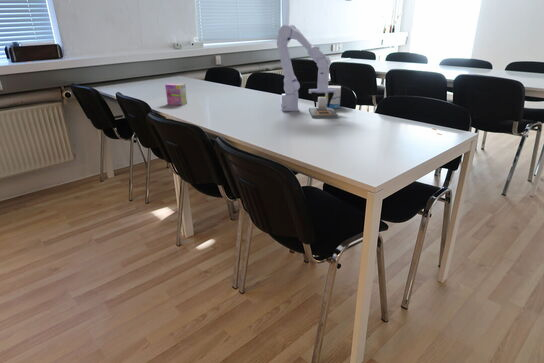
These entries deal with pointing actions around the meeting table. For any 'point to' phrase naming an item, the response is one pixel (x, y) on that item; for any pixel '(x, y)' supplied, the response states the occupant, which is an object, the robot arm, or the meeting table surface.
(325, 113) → the socket board
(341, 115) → the meeting table surface
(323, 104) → the steel peg
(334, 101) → the ink box
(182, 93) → the box
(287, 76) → the robot arm
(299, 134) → the meeting table surface
